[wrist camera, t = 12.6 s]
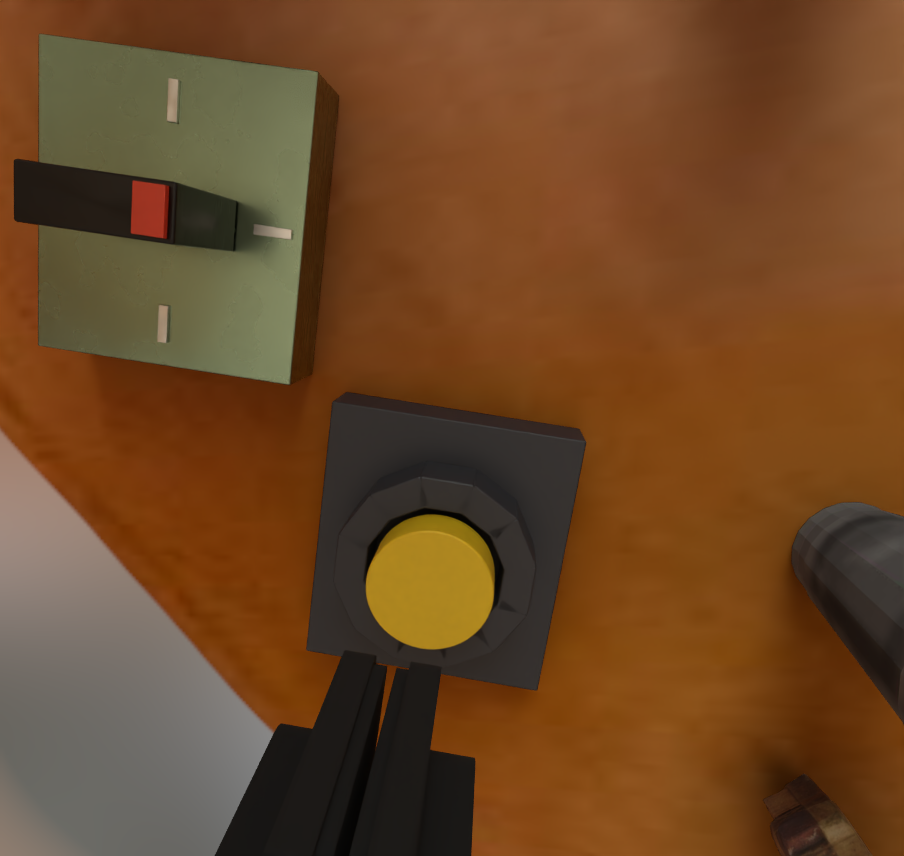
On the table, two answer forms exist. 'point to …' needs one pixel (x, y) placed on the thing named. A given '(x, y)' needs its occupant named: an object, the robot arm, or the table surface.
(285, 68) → the dial panel
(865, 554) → the beverage cup
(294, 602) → the table surface
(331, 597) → the button box
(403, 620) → the button
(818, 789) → the wooden carving
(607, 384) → the table surface
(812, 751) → the table surface
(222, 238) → the black upright block
